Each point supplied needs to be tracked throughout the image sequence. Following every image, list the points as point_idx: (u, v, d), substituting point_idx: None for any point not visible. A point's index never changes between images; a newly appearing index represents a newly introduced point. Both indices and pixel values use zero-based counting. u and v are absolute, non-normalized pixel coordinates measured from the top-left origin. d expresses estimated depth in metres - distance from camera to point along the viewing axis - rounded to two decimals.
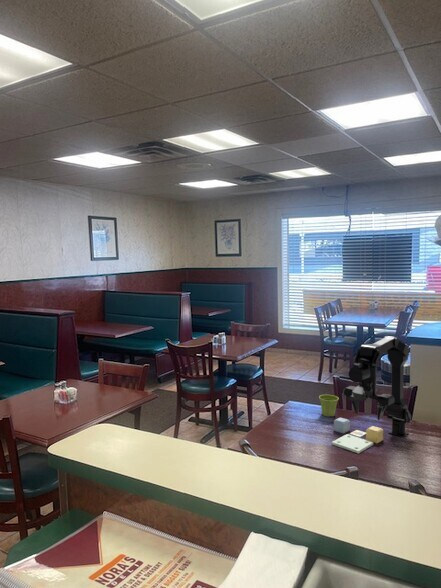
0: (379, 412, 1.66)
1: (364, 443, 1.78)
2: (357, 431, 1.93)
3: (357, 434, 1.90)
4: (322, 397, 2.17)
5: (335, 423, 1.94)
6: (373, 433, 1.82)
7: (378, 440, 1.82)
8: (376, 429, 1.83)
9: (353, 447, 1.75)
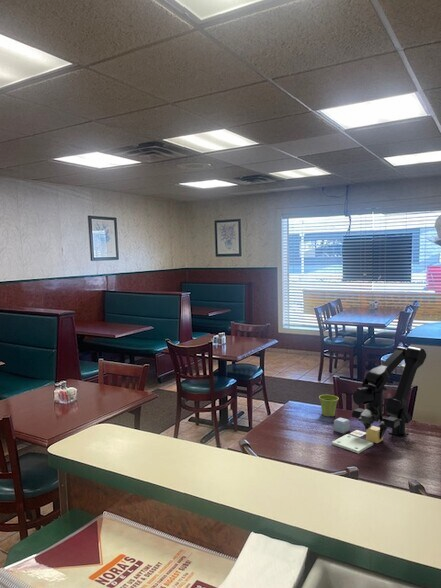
0: (381, 432, 1.81)
1: (364, 443, 1.78)
2: (357, 431, 1.93)
3: (357, 434, 1.90)
4: (322, 397, 2.17)
5: (335, 423, 1.94)
6: (373, 432, 1.82)
7: (378, 440, 1.82)
8: (376, 429, 1.83)
9: (353, 447, 1.75)
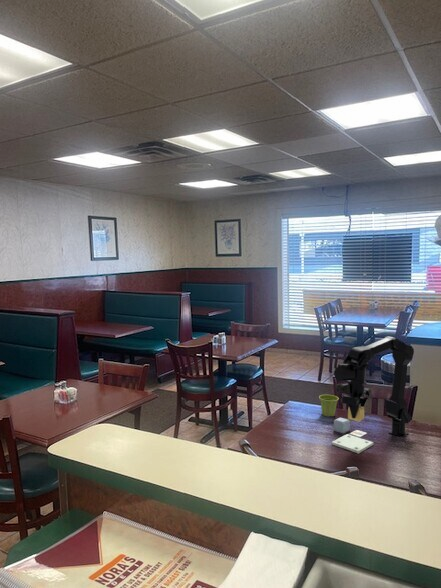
0: None
1: (364, 443, 1.78)
2: (357, 431, 1.93)
3: (357, 434, 1.90)
4: (322, 397, 2.17)
5: (335, 423, 1.94)
6: None
7: (350, 417, 1.78)
8: None
9: (353, 447, 1.75)
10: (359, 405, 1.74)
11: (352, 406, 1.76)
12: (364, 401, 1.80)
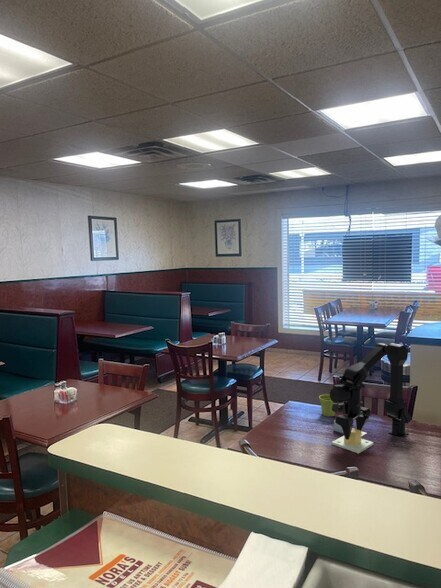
0: None
1: (364, 443, 1.78)
2: None
3: None
4: (322, 397, 2.17)
5: (335, 423, 1.94)
6: None
7: (346, 440, 1.79)
8: None
9: (353, 447, 1.75)
10: (351, 427, 1.73)
11: (345, 427, 1.75)
12: (363, 420, 1.81)
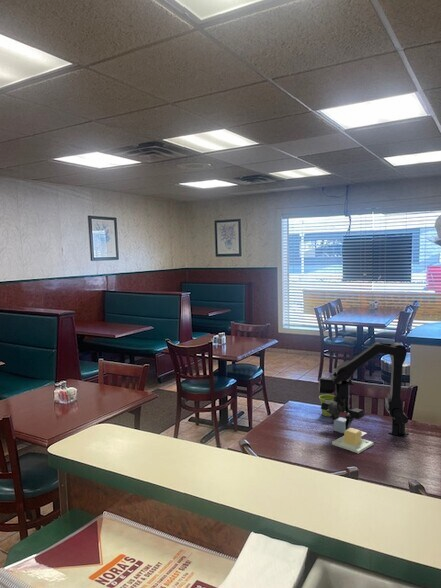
0: (347, 423, 1.91)
1: (364, 443, 1.78)
2: None
3: None
4: (322, 397, 2.17)
5: (335, 423, 1.94)
6: None
7: (346, 440, 1.79)
8: (350, 430, 1.79)
9: (353, 447, 1.75)
10: None
11: (349, 419, 1.91)
12: None
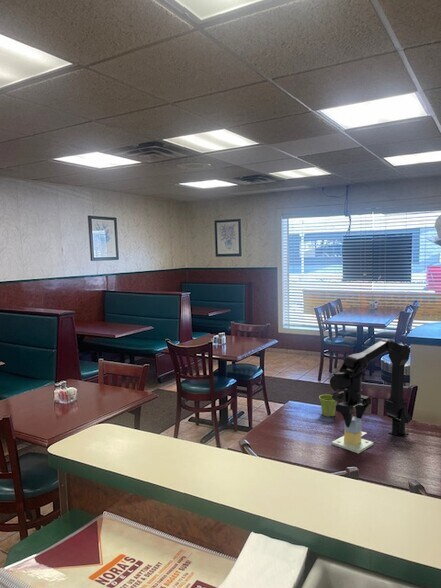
0: None
1: (364, 443, 1.78)
2: None
3: None
4: (322, 397, 2.17)
5: None
6: None
7: (346, 440, 1.79)
8: None
9: (353, 447, 1.75)
10: (352, 414, 1.73)
11: (345, 415, 1.75)
12: (363, 408, 1.80)
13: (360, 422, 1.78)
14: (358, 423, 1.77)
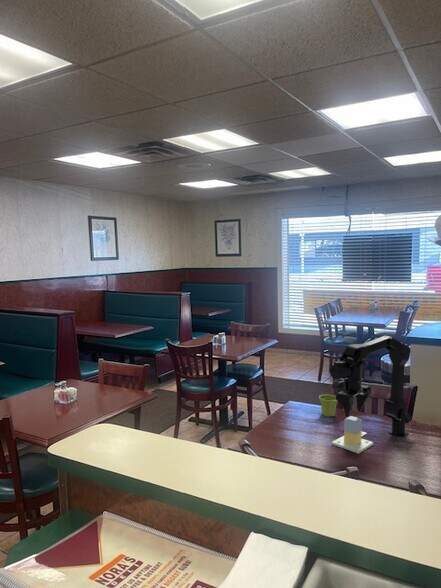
0: None
1: (364, 443, 1.78)
2: None
3: None
4: (322, 397, 2.17)
5: None
6: None
7: (346, 440, 1.79)
8: None
9: (353, 447, 1.75)
10: (351, 403, 1.72)
11: (345, 404, 1.75)
12: (364, 397, 1.80)
13: (360, 422, 1.78)
14: (358, 423, 1.77)
